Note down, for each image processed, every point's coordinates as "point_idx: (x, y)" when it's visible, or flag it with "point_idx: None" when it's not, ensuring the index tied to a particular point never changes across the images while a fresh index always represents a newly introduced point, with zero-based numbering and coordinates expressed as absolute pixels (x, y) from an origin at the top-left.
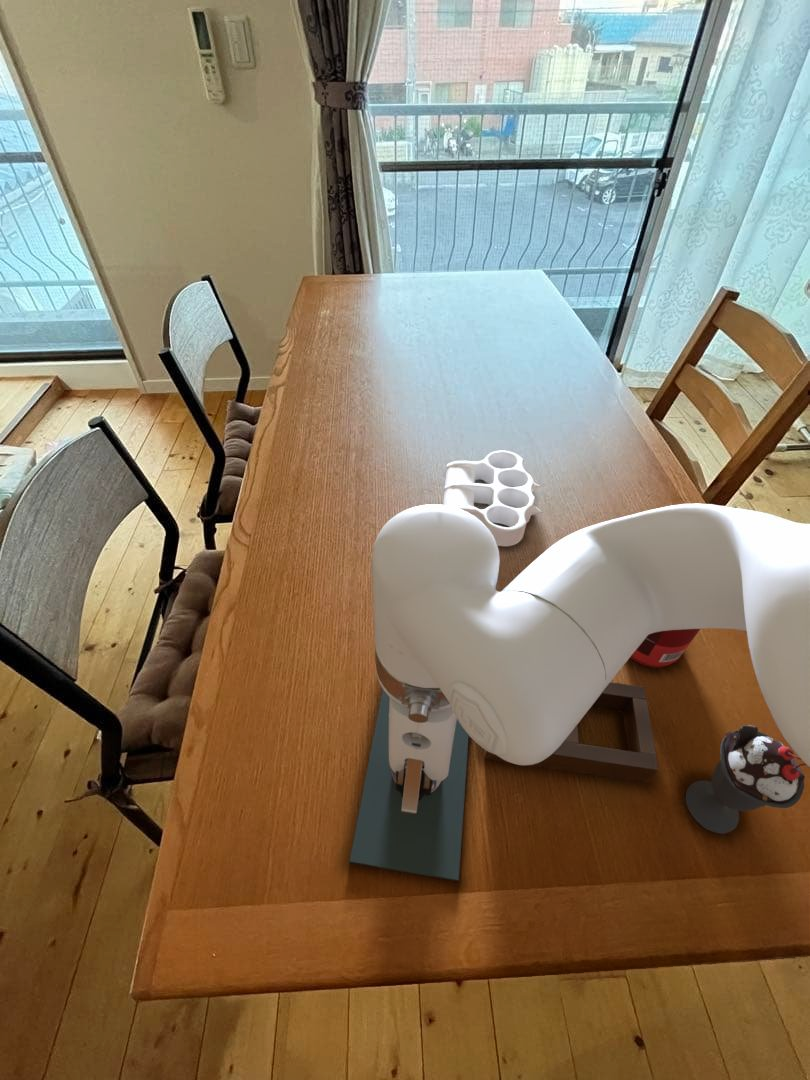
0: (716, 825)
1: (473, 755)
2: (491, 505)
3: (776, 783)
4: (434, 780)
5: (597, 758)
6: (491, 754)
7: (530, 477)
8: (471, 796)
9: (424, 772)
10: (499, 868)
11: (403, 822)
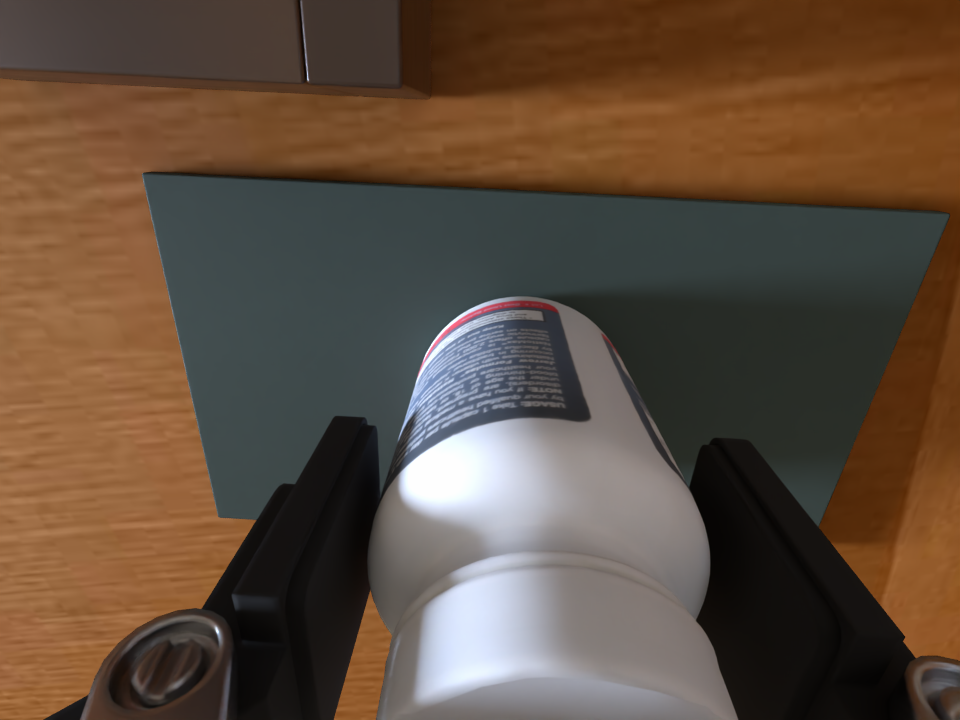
0: None
1: (423, 154)
2: None
3: None
4: (634, 392)
5: None
6: (422, 59)
7: None
8: (607, 160)
9: (819, 670)
10: (931, 15)
11: (708, 422)
